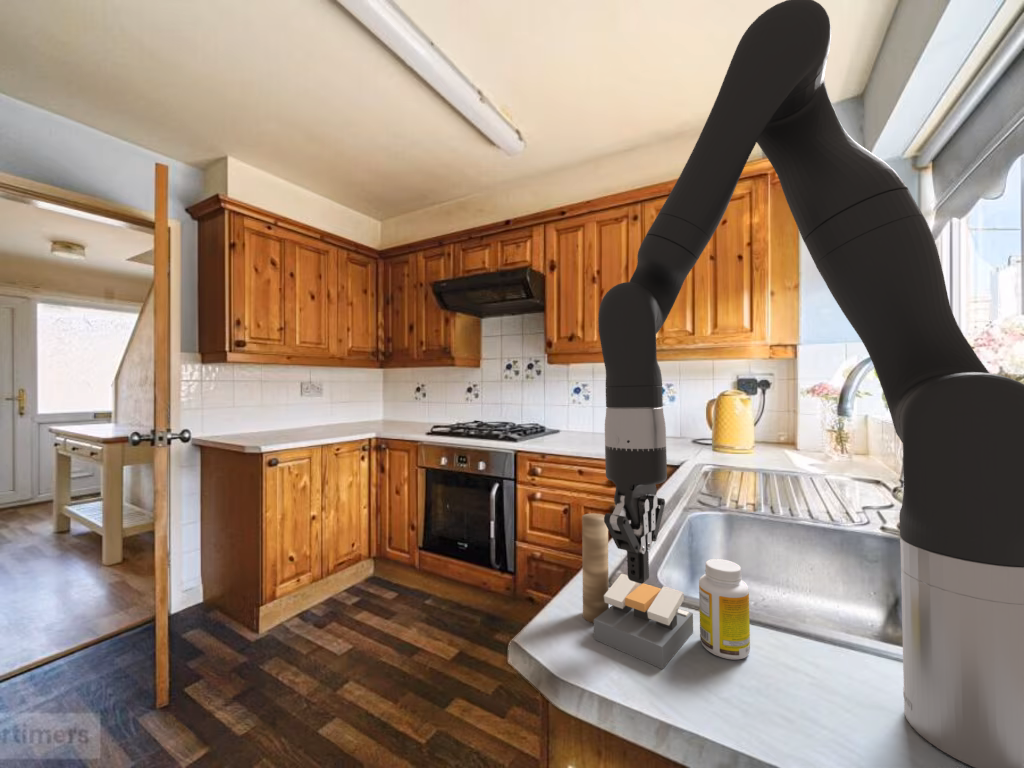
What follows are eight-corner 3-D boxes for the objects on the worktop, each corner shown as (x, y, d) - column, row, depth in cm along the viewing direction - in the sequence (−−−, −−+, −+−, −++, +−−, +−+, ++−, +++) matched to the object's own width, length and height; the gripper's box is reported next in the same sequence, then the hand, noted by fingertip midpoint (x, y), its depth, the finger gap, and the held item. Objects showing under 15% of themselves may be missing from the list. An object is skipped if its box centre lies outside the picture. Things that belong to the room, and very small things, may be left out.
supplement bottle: (757, 649, 52) (756, 565, 53) (738, 668, 49) (736, 578, 49) (712, 630, 57) (711, 552, 57) (691, 646, 53) (690, 563, 53)
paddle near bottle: (684, 602, 55) (683, 592, 54) (669, 628, 51) (668, 618, 51) (664, 595, 56) (663, 586, 56) (648, 621, 53) (647, 611, 52)
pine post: (613, 616, 60) (612, 516, 61) (600, 626, 58) (599, 522, 58) (591, 607, 63) (590, 512, 63) (577, 617, 60) (577, 517, 61)
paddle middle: (661, 599, 57) (661, 588, 57) (644, 615, 53) (644, 604, 53) (643, 593, 58) (642, 583, 58) (625, 608, 55) (625, 597, 55)
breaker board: (693, 632, 56) (692, 602, 56) (662, 669, 49) (662, 634, 49) (629, 609, 62) (629, 582, 62) (593, 639, 55) (593, 608, 55)
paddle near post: (640, 588, 59) (639, 578, 58) (623, 612, 55) (621, 602, 55) (623, 582, 60) (621, 573, 60) (605, 605, 57) (603, 595, 56)
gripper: (640, 450, 47) (644, 609, 47) (683, 439, 57) (687, 571, 56) (581, 446, 52) (585, 590, 52) (631, 437, 62) (634, 557, 61)
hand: (638, 579), depth 54 cm, fingers closed
